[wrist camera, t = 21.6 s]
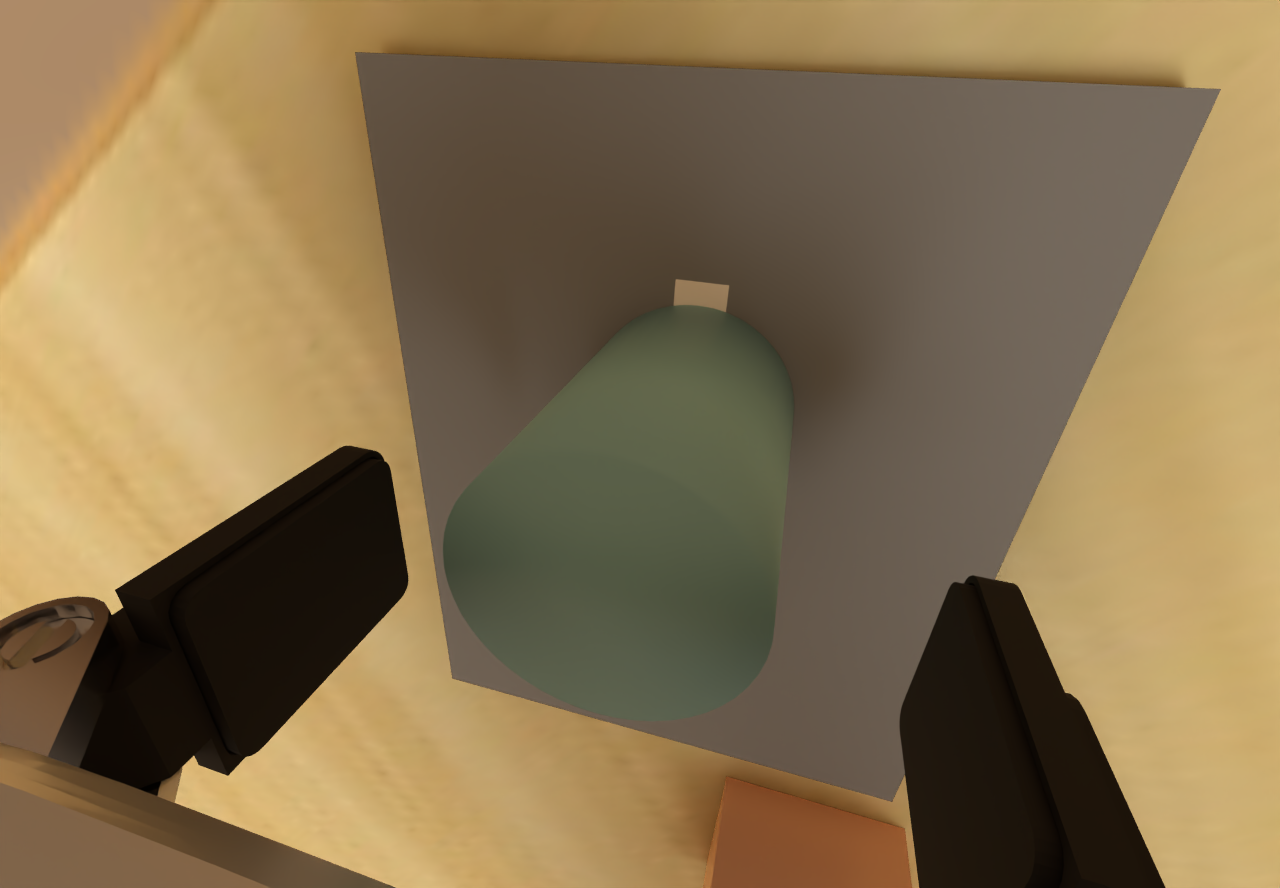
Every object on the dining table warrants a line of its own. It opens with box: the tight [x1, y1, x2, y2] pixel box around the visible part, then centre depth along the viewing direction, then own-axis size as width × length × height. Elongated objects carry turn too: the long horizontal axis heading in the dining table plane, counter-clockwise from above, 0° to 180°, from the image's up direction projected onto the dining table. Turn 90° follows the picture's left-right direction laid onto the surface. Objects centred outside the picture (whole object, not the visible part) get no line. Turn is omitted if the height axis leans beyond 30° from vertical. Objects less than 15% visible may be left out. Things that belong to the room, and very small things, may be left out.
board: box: [355, 52, 1221, 802], centre depth 16 cm, size 16×20×1 cm
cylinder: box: [443, 305, 794, 721], centre depth 11 cm, size 5×5×7 cm
